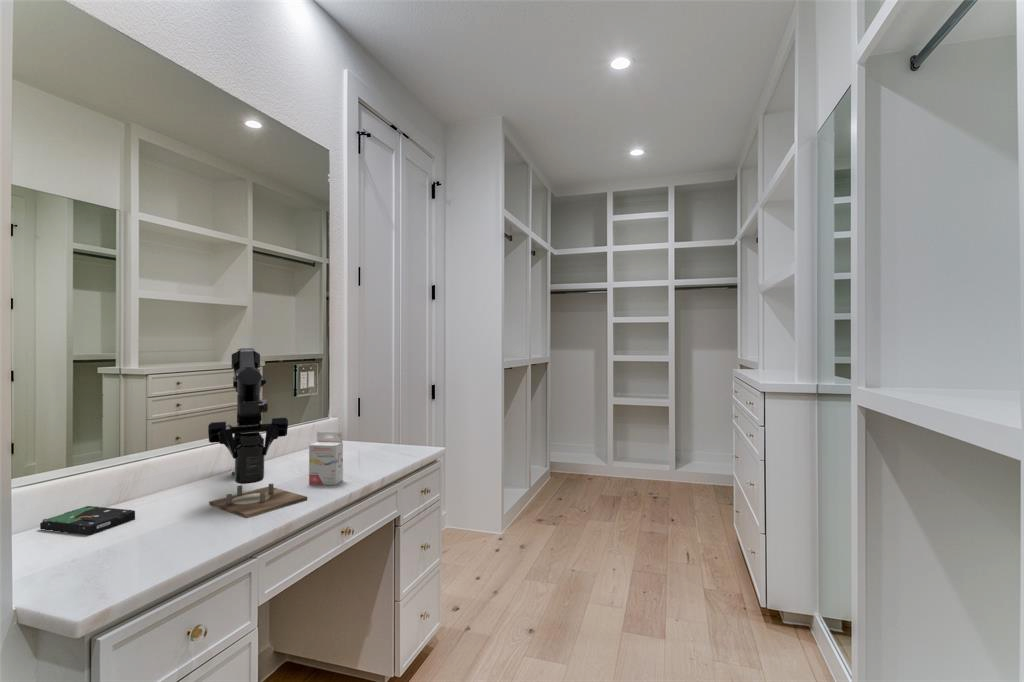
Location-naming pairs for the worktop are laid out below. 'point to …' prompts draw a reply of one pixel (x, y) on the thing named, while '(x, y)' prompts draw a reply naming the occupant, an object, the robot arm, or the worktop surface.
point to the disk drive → (88, 520)
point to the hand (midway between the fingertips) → (249, 456)
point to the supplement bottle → (249, 459)
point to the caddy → (257, 501)
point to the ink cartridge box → (326, 459)
